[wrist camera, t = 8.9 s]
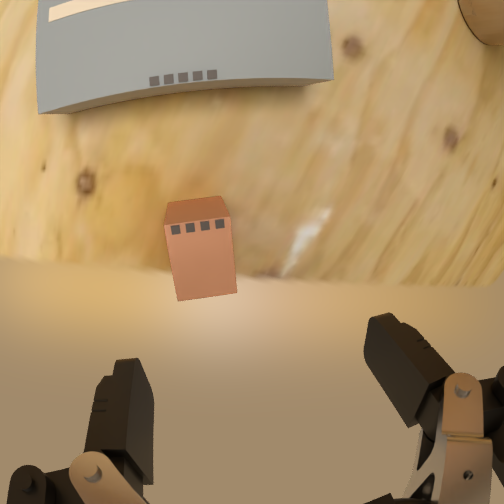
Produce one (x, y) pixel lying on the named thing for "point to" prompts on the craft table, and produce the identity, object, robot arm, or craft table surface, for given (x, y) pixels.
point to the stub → (200, 248)
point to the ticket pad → (174, 48)
